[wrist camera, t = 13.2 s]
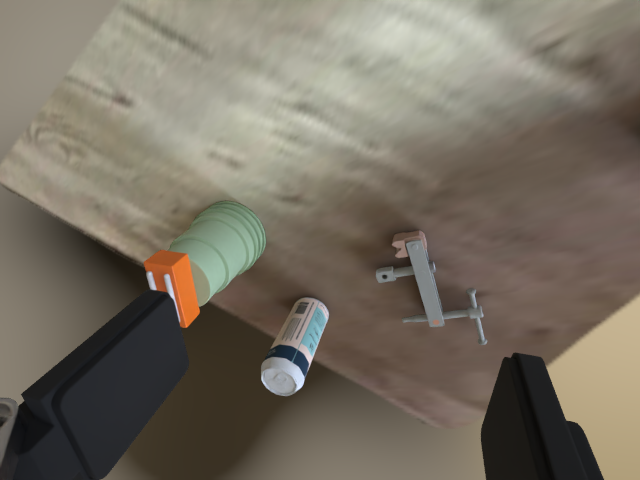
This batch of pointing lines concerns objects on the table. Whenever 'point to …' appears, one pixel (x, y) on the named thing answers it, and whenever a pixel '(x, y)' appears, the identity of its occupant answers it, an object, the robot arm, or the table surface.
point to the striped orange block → (174, 282)
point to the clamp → (426, 282)
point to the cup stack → (220, 246)
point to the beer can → (294, 347)
